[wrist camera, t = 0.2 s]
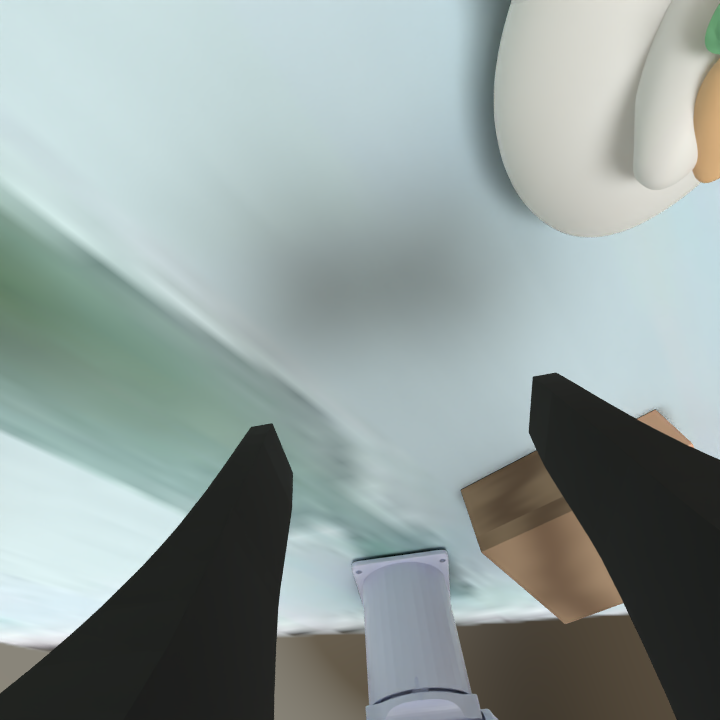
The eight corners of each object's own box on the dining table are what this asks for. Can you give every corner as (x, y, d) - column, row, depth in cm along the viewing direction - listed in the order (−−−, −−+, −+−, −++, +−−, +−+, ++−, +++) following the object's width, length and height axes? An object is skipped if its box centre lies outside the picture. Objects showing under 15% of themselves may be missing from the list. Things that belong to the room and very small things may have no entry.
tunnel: (536, 450, 26) (572, 510, 22) (604, 537, 32) (642, 596, 28) (460, 490, 28) (481, 552, 24) (538, 564, 34) (565, 624, 30)
